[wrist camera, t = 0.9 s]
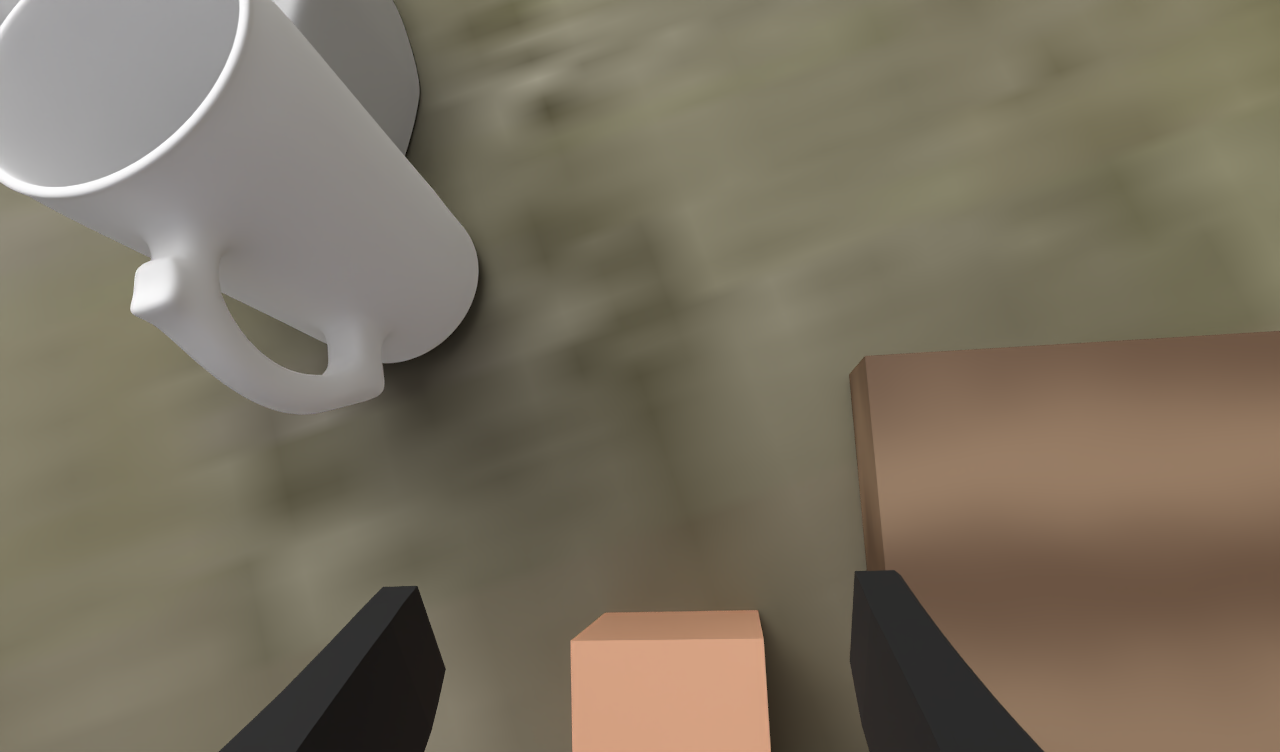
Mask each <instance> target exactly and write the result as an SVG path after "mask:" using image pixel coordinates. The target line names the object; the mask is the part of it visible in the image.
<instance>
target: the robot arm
mask: <svg viewBox="0 0 1280 752" xmlns="http://www.w3.org/2000/svg"><path fill="white" fill-rule="evenodd" d="M850 664H851V669H852V675H853V680H854V686H855V691H856V697H857V702H858V707H859V712H860V717H861V722H862V727H863V730H864V734H865V737H866V741H867V744H868V747H869V751H870V752H1044V751H1043V750H1042V749H1041V748H1040V747H1039V745H1038V744H1037V743H1036V742H1035V741H1034V740H1033V739H1032V738H1031V737H1030V736H1029V735H1028V733H1027V732H1026V731H1025V730H1024V729H1023V728H1022V727H1021V726H1020V725H1019V724H1018V723H1017V721H1016V720H1015V719H1014V718H1013V717H1012V716H1011V715H1010V714H1009V713H1008V711H1007V710H1006V709H1005V708H1004V707H1003V706H1002V705H1001V704H1000V702H999V701H998V700H997V699H996V698H995V697H994V696H993V694H992V693H991V692H990V691H989V690H988V688H987V687H986V686H985V685H984V684H983V682H982V681H981V680H980V679H979V678H978V676H977V675H976V674H975V673H974V672H973V670H972V669H971V668H970V667H969V666H968V664H967V663H966V662H965V661H964V660H963V658H962V657H961V656H960V655H959V653H958V652H957V651H956V650H955V648H954V647H953V646H952V645H951V643H950V642H949V641H948V639H947V638H946V637H945V636H944V634H943V633H942V632H941V630H940V629H939V628H938V626H937V625H936V624H935V622H934V621H933V620H932V618H931V617H930V616H929V614H928V613H927V612H926V610H925V609H924V608H923V606H922V605H921V603H920V602H919V601H918V599H917V598H916V596H915V595H914V594H913V592H912V591H911V589H910V588H909V586H908V585H907V583H906V582H905V581H904V579H903V578H902V576H901V575H900V574H899V573H898V572H896V571H895V570H880V571H855V578H854V596H853V614H852V632H851V650H850ZM445 670H446V669H445V666H444V663H443V660H442V657H441V654H440V651H439V648H438V645H437V642H436V639H435V636H434V633H433V631H432V628H431V625H430V622H429V619H428V616H427V613H426V610H425V607H424V604H423V601H422V598H421V595H420V592H419V590H418V587H417V586H400V587H382V588H381V589H380V591H379V592H378V593H377V594H376V595H375V596H374V597H373V598H372V599H371V600H370V601H369V602H368V603H367V604H366V605H365V606H364V607H363V608H362V609H361V610H360V611H359V612H358V613H357V614H356V615H355V616H354V617H353V618H352V620H351V621H350V622H349V623H348V624H347V625H346V626H345V627H344V628H343V629H342V630H341V631H340V632H339V633H338V634H337V635H336V636H335V637H334V639H333V640H332V641H331V642H330V643H329V644H328V645H327V646H326V647H325V648H324V649H323V650H322V651H321V652H320V653H319V654H318V655H317V656H316V657H315V658H314V659H313V660H312V661H311V662H310V663H309V664H308V665H307V667H306V668H305V669H304V670H303V671H302V672H301V673H300V674H299V675H298V676H297V677H296V678H295V679H294V680H293V681H292V682H291V683H290V684H289V685H288V686H287V687H286V688H285V689H284V690H283V691H282V692H281V693H280V694H279V695H278V696H277V697H276V698H275V699H274V700H273V701H272V702H271V703H270V704H269V705H267V706H266V707H265V708H264V709H263V710H262V711H261V712H260V713H259V714H258V715H257V716H256V717H255V718H254V719H253V720H252V721H251V722H250V723H249V724H248V725H247V726H245V727H244V728H243V729H242V730H241V731H240V732H239V733H238V734H237V735H236V736H235V737H234V738H233V739H232V740H231V741H230V742H229V743H228V744H227V745H226V746H224V747H223V748H222V749H221V750H220V751H219V752H424V751H425V748H426V745H427V742H428V739H429V736H430V733H431V730H432V726H433V722H434V718H435V714H436V710H437V706H438V702H439V697H440V693H441V688H442V683H443V679H444V674H445Z"/></svg>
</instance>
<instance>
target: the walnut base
mask: <svg viewBox="0 0 1280 752" xmlns="http://www.w3.org/2000/svg"><path fill="white" fill-rule="evenodd" d="M849 378H850V389H851V400H852V411H853V422H854V433H855V444H856V455H857V466H858V477H859V488H860V499H861V510H862V521H863V532H864V543H865V553H866V564H867V571H880V570H895V571H896V572H898V573H899V574H900V575H901V576H902V578H903V579H904V581H905V582H906V583H907V585H908V586H909V588H910V589H911V591H912V592H913V594H914V595H915V596H916V598H917V599H918V601H919V602H920V603H921V605H922V606H923V608H924V609H925V610H926V612H927V613H928V614H929V616H930V617H931V618H932V620H933V621H934V622H935V624H936V625H937V626H938V628H939V629H940V630H941V632H942V633H943V634H944V636H945V637H946V638H947V639H948V641H949V642H950V643H951V645H952V646H953V647H954V648H955V650H956V651H957V652H958V653H959V655H960V656H961V657H962V658H963V660H964V661H965V662H966V663H967V664H968V666H969V667H970V668H971V669H972V670H973V672H974V673H975V674H976V675H977V676H978V678H979V679H980V680H981V681H982V682H983V684H984V685H985V686H986V687H987V688H988V690H989V691H990V692H991V693H992V694H993V696H994V697H995V698H996V699H997V700H998V701H999V702H1000V704H1001V705H1002V706H1003V707H1004V708H1005V709H1006V710H1007V711H1008V713H1009V714H1010V715H1011V716H1012V717H1013V718H1014V719H1015V720H1016V721H1017V723H1018V724H1019V725H1020V726H1021V727H1022V728H1023V729H1024V730H1025V731H1026V732H1027V733H1028V735H1029V736H1030V737H1031V738H1032V739H1033V740H1034V741H1035V742H1036V743H1037V744H1038V745H1039V747H1040V748H1041V749H1042V750H1043V751H1044V752H1280V331H1273V332H1256V333H1239V334H1223V335H1206V336H1190V337H1173V338H1156V339H1140V340H1123V341H1107V342H1090V343H1073V344H1057V345H1040V346H1024V347H1007V348H990V349H974V350H957V351H941V352H924V353H907V354H891V355H874V356H865V357H864V358H863V359H862V360H861V361H860V363H859V364H858V365H857V366H856V367H855V368H854V370H853V371H852V372H851V373H850V374H849Z"/></svg>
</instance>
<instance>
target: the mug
mask: <svg viewBox="0 0 1280 752" xmlns="http://www.w3.org/2000/svg"><path fill="white" fill-rule="evenodd" d="M0 182H1V183H2V184H4V185H5V186H7V187H8V188H10V189H12V190H14V191H16V192H19V193H21V194H24V195H27V196H29V197H31V198H33V199H34V200H36V201H38V202H40V203H42V204H43V205H45V206H47V207H49V208H51V209H53V210H55V211H57V212H58V213H60V214H62V215H64V216H66V217H68V218H70V219H72V220H74V221H76V222H78V223H80V224H82V225H84V226H86V227H88V228H90V229H92V230H94V231H96V232H98V233H100V234H102V235H104V236H107V237H109V238H111V239H113V240H115V241H117V242H119V243H121V244H123V245H125V246H127V247H129V248H131V249H133V250H135V251H137V252H139V253H141V254H143V255H146V256H148V257H150V258H151V261H149V262H147V263H144V264H143V265H141V266H140V267H139V268H138V269H137V271H136V274H135V280H134V294H133V298H132V302H131V312H132V314H133V315H135V316H137V317H139V318H141V319H143V320H146V321H147V322H149V323H151V324H153V325H154V326H156V327H157V328H158V329H160V330H161V331H162V332H163V333H165V334H166V335H167V336H168V337H169V338H170V339H172V340H173V341H174V342H175V343H176V344H177V345H178V346H179V347H180V348H181V349H183V350H184V351H185V352H186V353H187V354H188V355H189V356H190V357H191V358H193V359H194V360H195V361H196V362H197V363H198V364H199V365H201V366H202V367H203V368H204V369H205V370H207V371H208V372H209V373H210V374H212V375H213V376H214V377H216V378H217V379H218V380H220V381H221V382H222V383H224V384H225V385H226V386H228V387H229V388H231V389H232V390H234V391H235V392H237V393H239V394H240V395H242V396H243V397H245V398H247V399H249V400H251V401H253V402H255V403H257V404H260V405H262V406H264V407H267V408H270V409H273V410H276V411H280V412H284V413H290V414H316V413H321V412H326V411H330V410H334V409H338V408H342V407H345V406H349V405H353V404H357V403H360V402H364V401H367V400H370V399H373V398H375V397H377V396H379V395H380V394H381V393H382V392H383V389H384V383H385V382H384V372H383V364H382V363H396V362H402V361H406V360H410V359H413V358H416V357H418V356H421V355H423V354H425V353H427V352H429V351H430V350H432V349H433V348H435V347H436V346H438V345H439V344H441V343H442V342H443V341H444V340H445V339H446V338H448V337H449V336H450V335H451V334H452V333H453V332H454V330H455V329H456V328H457V327H458V326H459V324H460V323H461V322H462V320H463V319H464V317H465V315H466V314H467V312H468V310H469V308H470V306H471V304H472V301H473V299H474V296H475V292H476V288H477V283H478V273H479V268H478V258H477V254H476V250H475V247H474V244H473V242H472V240H471V238H470V236H469V234H468V233H467V231H466V230H465V229H464V227H463V226H462V225H461V224H460V222H459V221H458V220H457V219H456V218H455V216H454V215H453V214H452V213H451V212H450V210H449V209H448V208H447V207H446V205H445V204H444V203H443V202H442V200H441V199H440V198H439V196H438V195H437V194H436V192H435V191H434V190H433V189H432V188H431V186H430V185H429V184H428V183H427V182H426V181H425V179H424V178H423V177H422V176H421V175H420V174H419V172H418V171H417V170H416V169H415V168H414V166H413V165H412V164H411V163H410V162H409V161H408V159H407V158H406V157H405V156H404V155H403V154H402V152H401V151H400V150H399V149H398V148H397V146H396V145H395V144H394V143H393V142H392V140H391V139H390V138H389V137H388V136H387V135H386V133H385V132H384V131H383V130H382V129H381V127H380V126H379V125H378V124H377V123H376V121H375V120H374V119H373V118H372V117H371V115H370V114H369V113H368V112H367V111H366V109H365V108H364V107H363V106H362V105H361V104H360V102H359V101H358V100H357V99H356V98H355V96H354V95H353V94H352V93H351V92H350V90H349V89H348V88H347V87H346V86H345V84H344V83H343V82H342V81H341V80H340V78H339V77H338V76H337V75H336V74H335V72H334V71H333V70H332V69H331V68H330V66H329V65H328V64H327V63H326V62H325V61H324V59H323V58H322V57H321V56H320V55H319V53H318V52H317V51H316V50H315V49H314V47H313V46H312V45H311V44H310V43H309V41H308V40H307V39H306V38H305V37H304V36H303V34H302V33H301V32H300V31H299V30H298V28H297V27H296V26H295V25H294V24H293V23H292V21H291V20H290V19H289V18H288V17H287V16H286V15H285V14H284V12H283V11H282V10H281V9H280V8H279V7H278V6H277V5H276V4H275V3H274V1H273V0H20V1H19V2H18V3H17V5H16V6H15V7H14V8H13V10H12V11H11V12H10V13H9V15H8V16H7V17H6V19H5V20H4V22H3V23H2V25H1V26H0ZM221 292H222V293H224V294H226V295H228V296H230V297H232V298H234V299H236V300H238V301H240V302H242V303H244V304H247V305H249V306H251V307H253V308H255V309H257V310H259V311H261V312H263V313H265V314H267V315H269V316H271V317H273V318H275V319H277V320H279V321H281V322H283V323H285V324H287V325H289V326H291V327H293V328H295V329H297V330H299V331H301V332H303V333H305V334H307V335H309V336H311V337H313V338H315V339H317V340H320V341H322V342H324V343H326V344H327V346H328V367H327V369H326V371H325V372H324V373H323V374H322V375H311V374H303V373H298V372H295V371H292V370H289V369H287V368H285V367H282V366H280V365H279V364H277V363H275V362H273V361H272V360H271V359H269V358H268V357H267V356H265V355H264V354H263V353H262V352H260V351H259V350H258V349H257V348H256V347H255V346H254V345H253V344H252V343H251V342H250V341H249V340H248V339H247V337H246V336H245V335H244V333H243V332H242V331H241V329H240V328H239V327H238V325H237V323H236V322H235V320H234V319H233V317H232V315H231V314H230V312H229V310H228V308H227V305H226V303H225V301H224V299H223V297H222V295H221Z"/></svg>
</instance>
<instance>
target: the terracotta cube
mask: <svg viewBox="0 0 1280 752" xmlns="http://www.w3.org/2000/svg"><path fill="white" fill-rule="evenodd" d="M571 692H572V752H771V746H770V730H769V715H768V699H767V684H766V668H765V652H764V638H763V633H762V628H761V623H760V618H759V613H758V610H740V611H680V612H620V613H604V614H603V615H602V616H600V617H599V618H598V619H597V620H596V621H594V622H593V623H592V624H591V625H589V626H588V627H587V628H586V629H585V630H583V631H582V632H581V633H580V634H578V635H577V636H576V637H575V638H574V639H572V640H571Z"/></svg>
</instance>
